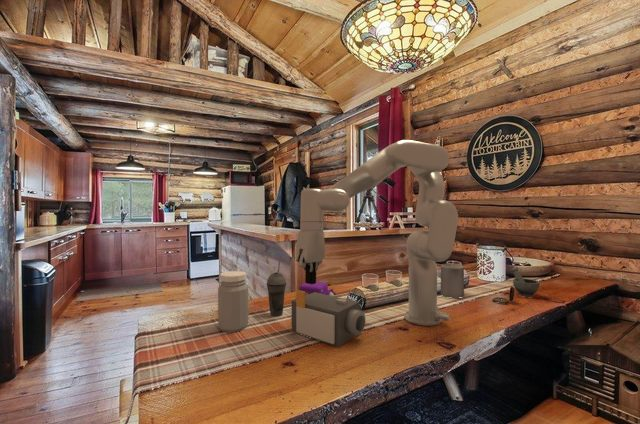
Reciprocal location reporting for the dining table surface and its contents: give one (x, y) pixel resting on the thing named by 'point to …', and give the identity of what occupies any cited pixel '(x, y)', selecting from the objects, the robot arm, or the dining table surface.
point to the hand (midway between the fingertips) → (310, 283)
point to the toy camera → (316, 288)
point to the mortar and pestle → (524, 284)
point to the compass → (498, 299)
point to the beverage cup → (276, 293)
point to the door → (314, 321)
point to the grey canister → (452, 280)
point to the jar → (232, 301)
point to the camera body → (345, 312)
